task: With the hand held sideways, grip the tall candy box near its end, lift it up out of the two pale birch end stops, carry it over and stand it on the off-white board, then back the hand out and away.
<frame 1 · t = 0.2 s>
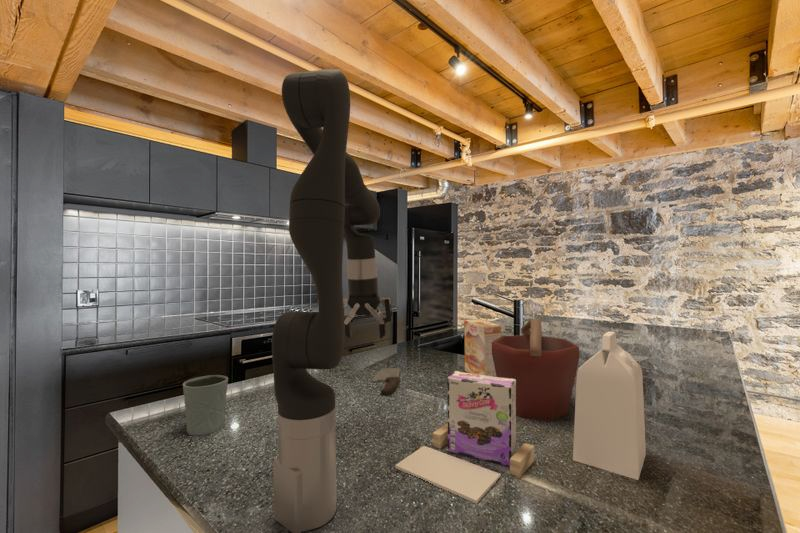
hand: (366, 337, 96), 22 cm above the counter, tool pointing down, fingers open, 8 cm apart
cleaver: (386, 382, 130), on the counter
milk: (609, 458, 77), on the counter
bucket: (536, 408, 104), on the counter
coffeecake box: (482, 375, 135), on the counter
candy box: (481, 454, 80), on the counter
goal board: (446, 472, 72), on the counter
green cup: (206, 428, 94), on the counter
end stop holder: (481, 452, 80), on the counter
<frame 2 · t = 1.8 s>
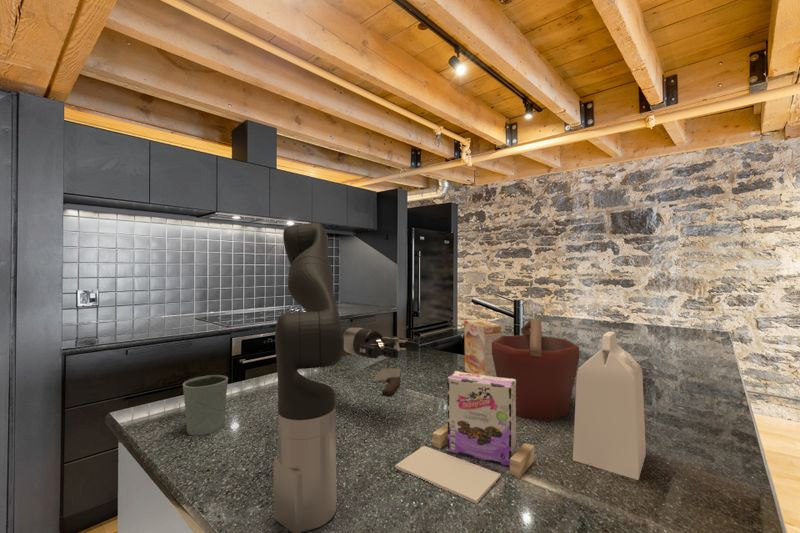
hand: (408, 350, 92), 19 cm above the counter, tool horizontal, fingers open, 8 cm apart
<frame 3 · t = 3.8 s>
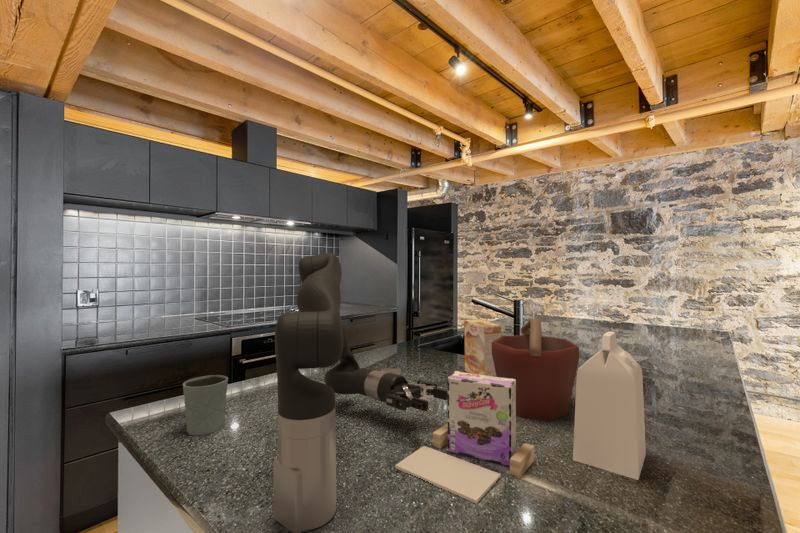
hand: (437, 400, 86), 9 cm above the counter, tool horizontal, fingers open, 8 cm apart
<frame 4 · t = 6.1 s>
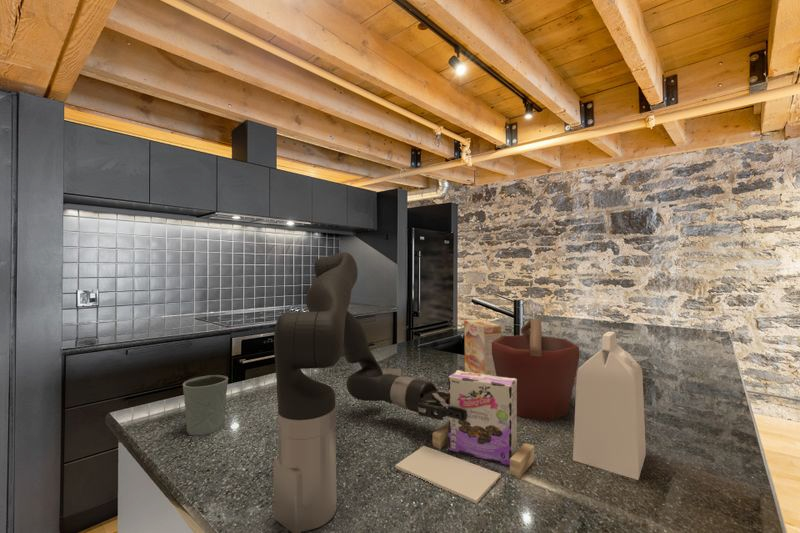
hand: (473, 410, 80), 9 cm above the counter, tool horizontal, fingers closed on candy box, 6 cm apart
candy box: (482, 453, 80), on the counter, touching gripper
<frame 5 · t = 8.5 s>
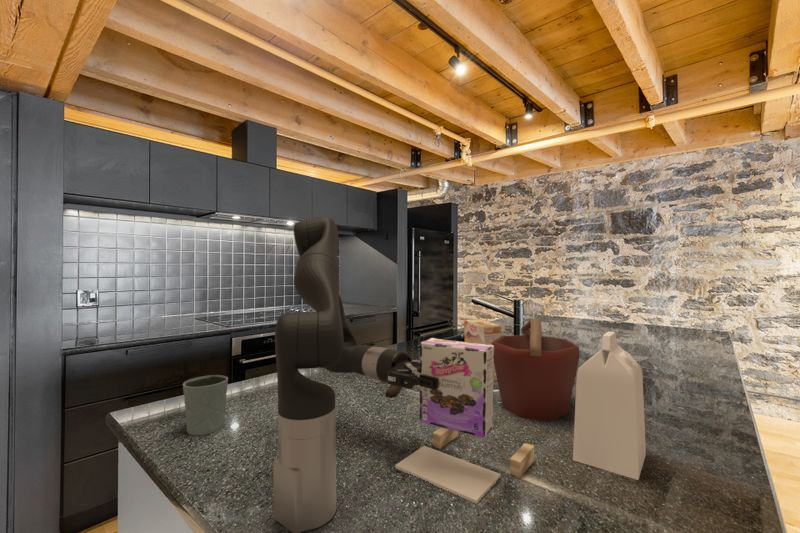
hand: (447, 379, 74), 18 cm above the counter, tool horizontal, fingers closed on candy box, 6 cm apart
candy box: (455, 425, 74), point 9 cm above the counter, touching gripper
when the fingers open (10 cm above the counter, at t = 10.7 s): candy box stays where it is, resting on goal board.
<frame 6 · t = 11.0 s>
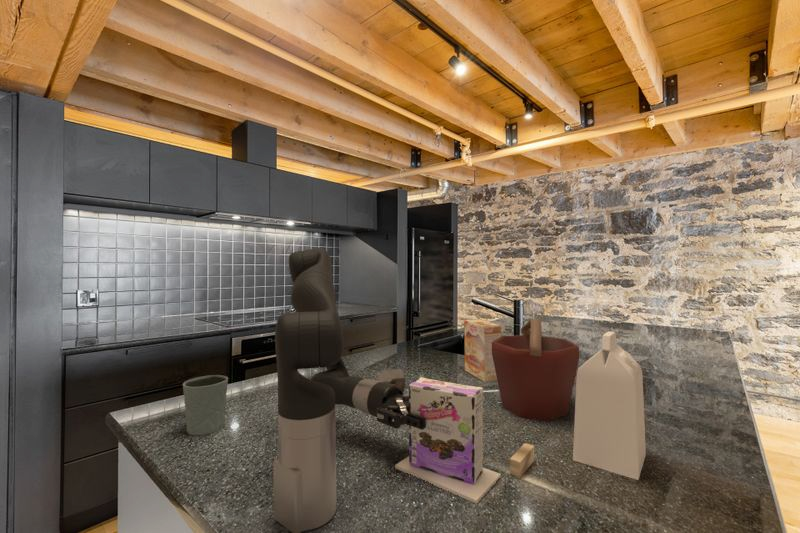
hand: (437, 416, 74), 11 cm above the counter, tool horizontal, fingers open, 8 cm apart
candy box: (445, 468, 73), resting on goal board
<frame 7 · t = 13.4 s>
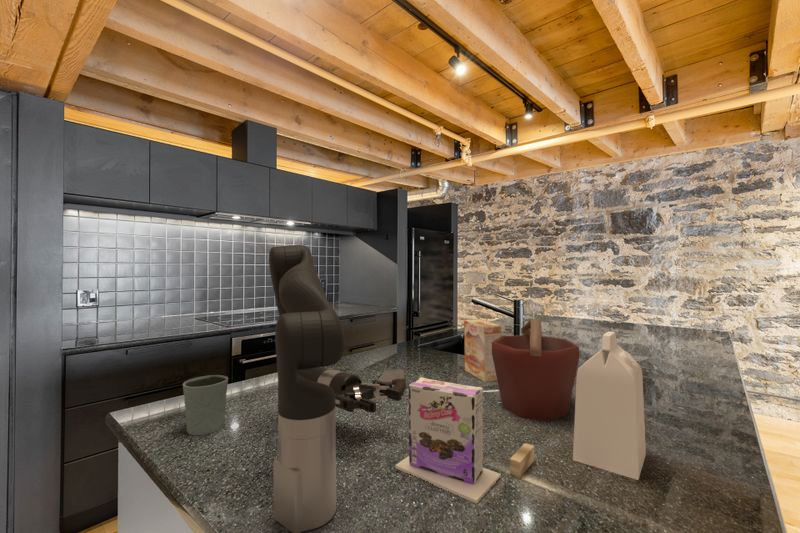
hand: (388, 401, 82), 10 cm above the counter, tool horizontal, fingers open, 8 cm apart
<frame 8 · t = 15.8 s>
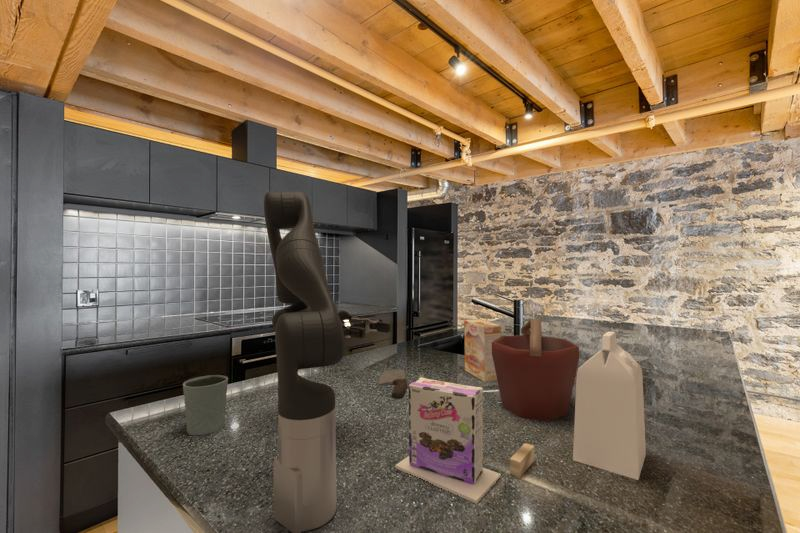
hand: (377, 330, 83), 26 cm above the counter, tool horizontal, fingers open, 8 cm apart
at the end: candy box inside the target area on the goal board (0.6 cm from its centre), point 0.4 cm above the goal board's base; candy box tilted 0°; the gripper is holding nothing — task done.
